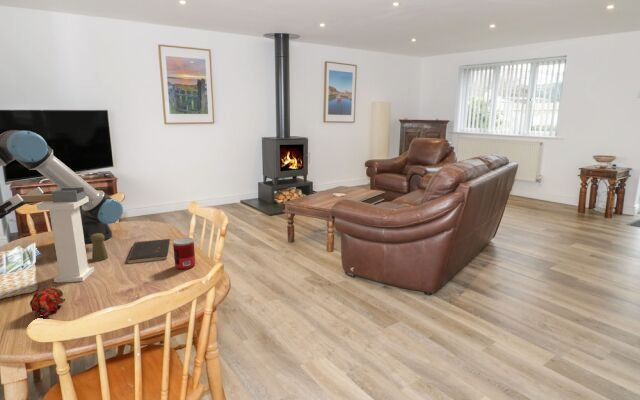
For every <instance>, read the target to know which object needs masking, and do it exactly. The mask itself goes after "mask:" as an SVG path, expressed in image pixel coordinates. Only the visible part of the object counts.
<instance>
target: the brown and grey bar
mask: <svg viewBox="0 0 640 400" xmlns="http://www.w3.org/2000/svg"><path fill="white" fill-rule="evenodd" d="M19 196H20V197H21V198H22V199H23V201H22V202H28V203H35V202H37V203H42V202H44V201H53V202H78V201H80V200H82V199H84V198H85V191H84V187H70V188H60V187H58V188H57V189H54V190H52V191H51V193H43V194H36V195H26V194H25V195H23V194H19Z"/></svg>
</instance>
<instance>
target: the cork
mask: <svg viewBox="0 0 640 400" xmlns="http://www.w3.org/2000/svg"><path fill="white" fill-rule="evenodd" d="M90 239H91V241H92V245H91V246H92V247H91V249H92V253H91V255H92V256H91V257H92V260H91V261H92V262H93V261H94V262H101V261H104V260H107V259H108V258H109V256H108V252H107V248H106V244H105V243H104V241H105V240H104V235H103V234H102V233H96V234H93V235H91V238H90Z"/></svg>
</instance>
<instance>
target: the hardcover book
mask: <svg viewBox="0 0 640 400" xmlns="http://www.w3.org/2000/svg"><path fill="white" fill-rule="evenodd" d="M170 242H171V238H165V239H164V238H163V239H154V240H145V241H142V240H141V241H135V242H134V243H133V245H132V247H131V249H130V252H129V253H128V254H129V255H128V256H127V259H126V264H133V263H143V262H151V261H152V262H153V261H159V260H160V261H161V260H167V259H168V254H169V249H170V244H171V243H170Z"/></svg>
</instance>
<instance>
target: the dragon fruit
mask: <svg viewBox="0 0 640 400" xmlns="http://www.w3.org/2000/svg"><path fill="white" fill-rule="evenodd" d="M63 296H64V293H63V291H62V290H61V289H59V288H57V287H55V286H50V287H48V288H46V287H43V288H42V289H41V291H40V292H35V293H34V294H33V296H32V298H31V299H30V303H29V306H30V308H31V311H32V312H34V313H35V314H36V315H38V316H39V315H43V317H46V316H49V315H51V314H52V312H54V313H57V312H59V310H60V309H61V308H62V307H63V303H65V301H66V299H65V298H63ZM43 317H42V316H39V318H40V319H42V318H43Z"/></svg>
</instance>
